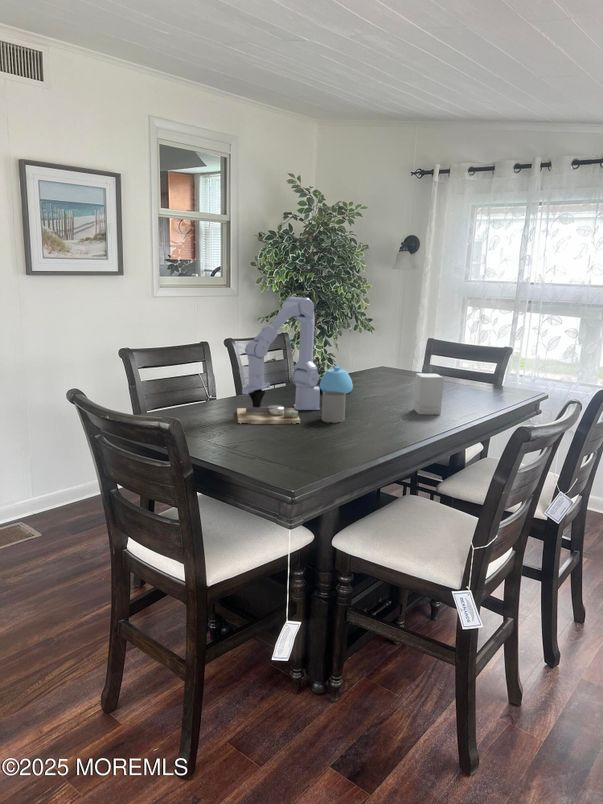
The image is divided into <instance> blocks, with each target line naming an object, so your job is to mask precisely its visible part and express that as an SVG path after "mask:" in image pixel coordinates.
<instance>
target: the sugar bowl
mask: <svg viewBox="0 0 603 804" xmlns="http://www.w3.org/2000/svg"><path fill="white" fill-rule="evenodd" d="M353 388H354V385H353V380H352V378H351V376H350V375H349V373H348V371H347V370H344V369H341V367H340V366H333V369H327V370H326V371H325V373H324V374H323V376H322V377H321V379H320V383H319V389H320V390H321V392H322V393H323V392H327V391H337V392H343V393H345V394H346V395H348V394H350V393H351V392H352V390H353Z"/></svg>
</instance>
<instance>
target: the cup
mask: <svg viewBox="0 0 603 804" xmlns="http://www.w3.org/2000/svg"><path fill="white" fill-rule="evenodd" d="M346 395H347V394H345V393H343V392H337V391H327V392H322V397H321V399H322V402H321V420H322V421H323V422H325V423H330V422H332V424H338V422H340V423H343V422H345V417H346V416H345V415H346V414H345V412H346Z"/></svg>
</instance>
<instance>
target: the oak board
mask: <svg viewBox="0 0 603 804" xmlns="http://www.w3.org/2000/svg"><path fill="white" fill-rule="evenodd" d="M236 414H237V415H236V416H237V424H238V423H240V424H239V425H242V424H241V423H248V424H247V425H272V424H273V425H279V424H281V425H284V424H285V425H286V424H287V425H291V423H292V425H293V424H294V425H295V424H296V423H299V424H301V418H300V416H299V410H296V409H295V407H284V414H283V415H269V414H268V413H246V407H244V408H243V407H237V408H236ZM249 423H250V424H249Z"/></svg>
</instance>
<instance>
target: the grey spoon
mask: <svg viewBox="0 0 603 804" xmlns="http://www.w3.org/2000/svg"><path fill="white" fill-rule="evenodd" d="M245 408H246V413H268V414H269V415H283V414H284V408H285V407H284V406H283V405H278V404H277V405H275V404H274V405H268V406H260V407H256V406H253V405H252V406H250V405H249V406H248V405H247V406H245Z"/></svg>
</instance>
